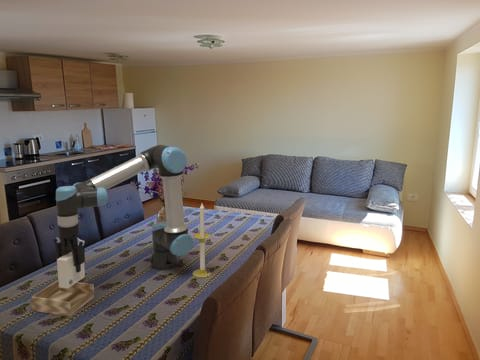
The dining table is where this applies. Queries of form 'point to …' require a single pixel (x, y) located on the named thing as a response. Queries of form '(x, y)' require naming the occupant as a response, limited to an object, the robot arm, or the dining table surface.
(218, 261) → the dining table surface
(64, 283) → the plain off-white rectangular block
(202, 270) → the candle
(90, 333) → the dining table surface
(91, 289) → the cabinet carcass
